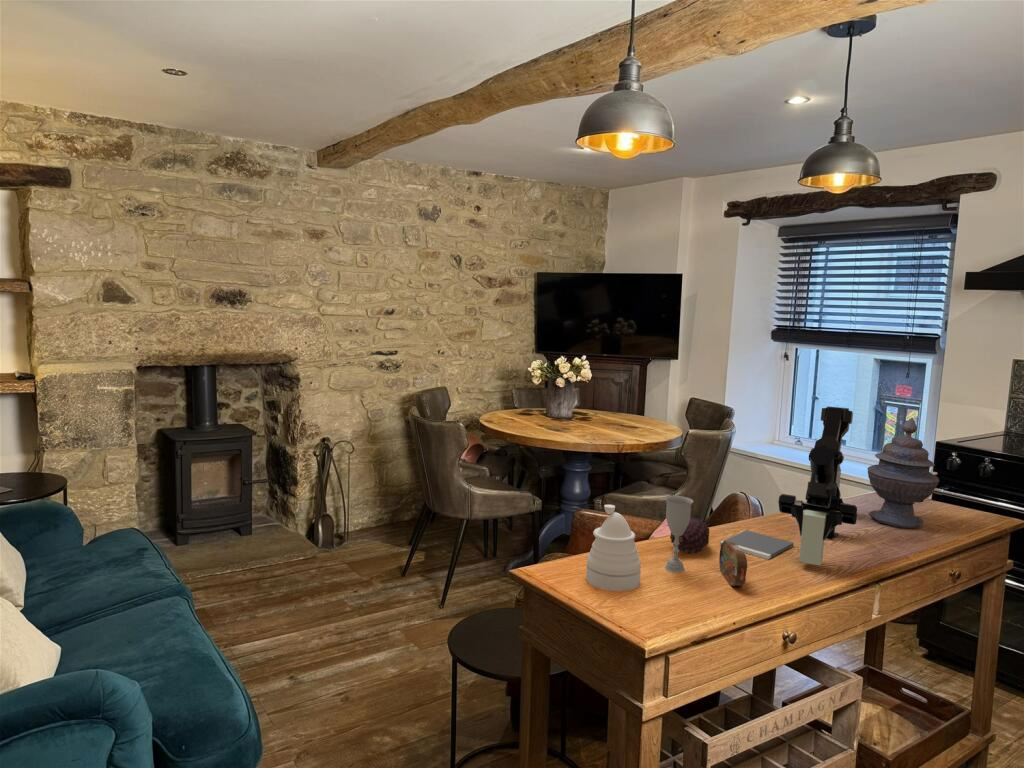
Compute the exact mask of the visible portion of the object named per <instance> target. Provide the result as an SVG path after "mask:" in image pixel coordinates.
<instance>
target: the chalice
mask: <svg viewBox="0 0 1024 768" xmlns="http://www.w3.org/2000/svg"><path fill="white" fill-rule="evenodd" d="M664 500H665V502H666V505H665V506H666V511H665V519H666V523H667V526H668V529H669V530H670V535H671V534H673V535H675V540H674V542H673V543H674V545H673V548H672V552H673V556H672V557H671V558H669V559H668V560H667V561H666V565H665V566H664V569H665V570H666V571H668V572H671V573H677V574H678V573H684V572H685V571H686V569H685V567H684V564H683V561H682V559H680V558H679V557H678V555H679V552H680V551H679V549H678V545H679V544H680V543H679V540H678V538H679V536H682V535H683V533H684V532H685V530H686V528H687V526H688V524H689V522H690V518H691V514H692V513H691V511H692V505H693V503H694V500H693V499H692V498H690V497H687V496H682V495H668V496H665V497H664ZM673 543H672V544H673Z"/></svg>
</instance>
